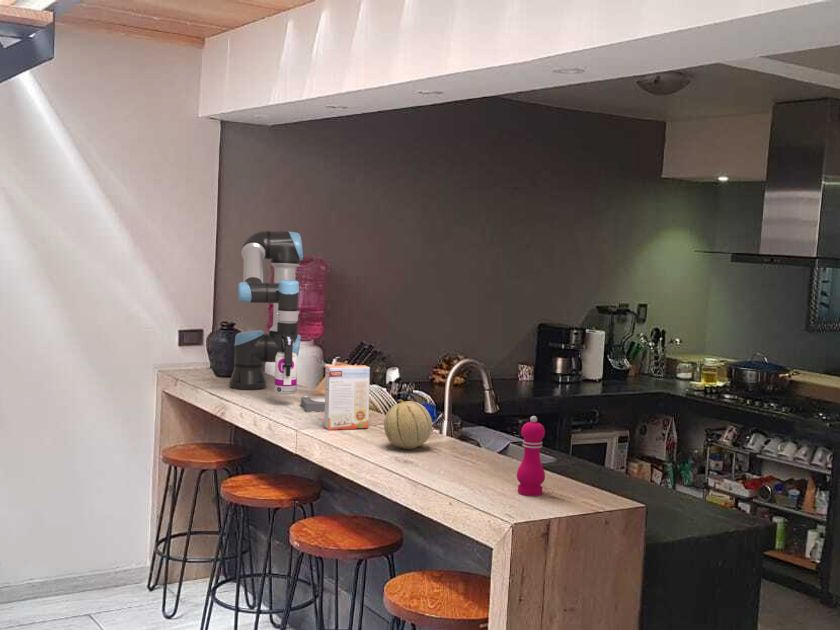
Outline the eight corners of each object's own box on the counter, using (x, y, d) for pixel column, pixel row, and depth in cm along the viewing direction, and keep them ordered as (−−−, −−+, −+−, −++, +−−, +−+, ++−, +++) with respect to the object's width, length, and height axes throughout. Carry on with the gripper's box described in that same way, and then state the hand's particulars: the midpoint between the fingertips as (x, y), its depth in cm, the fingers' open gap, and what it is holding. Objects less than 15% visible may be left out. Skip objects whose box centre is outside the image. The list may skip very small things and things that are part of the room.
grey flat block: (300, 405, 363) (301, 395, 362) (342, 404, 367) (343, 395, 366) (306, 411, 349) (306, 401, 349) (349, 411, 353) (350, 401, 353)
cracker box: (363, 425, 328) (365, 364, 326) (368, 429, 322) (370, 367, 321) (323, 427, 323) (325, 364, 321) (327, 430, 317) (329, 367, 316)
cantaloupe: (434, 454, 289) (436, 404, 288) (385, 453, 287) (387, 403, 286) (427, 443, 304) (429, 396, 302) (380, 443, 301) (382, 395, 300)
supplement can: (294, 395, 356) (296, 354, 355) (272, 394, 356) (273, 353, 355) (298, 391, 364) (299, 351, 363) (276, 390, 364) (277, 350, 363)
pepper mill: (545, 491, 251) (549, 414, 249) (542, 498, 244) (546, 419, 242) (518, 488, 252) (521, 412, 251) (513, 495, 245) (517, 417, 244)
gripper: (274, 318, 367) (272, 377, 369) (280, 325, 347) (278, 387, 349) (294, 318, 369) (292, 377, 371) (301, 325, 349) (299, 387, 351)
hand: (285, 382), depth 360 cm, fingers closed on supplement can, 8 cm apart
